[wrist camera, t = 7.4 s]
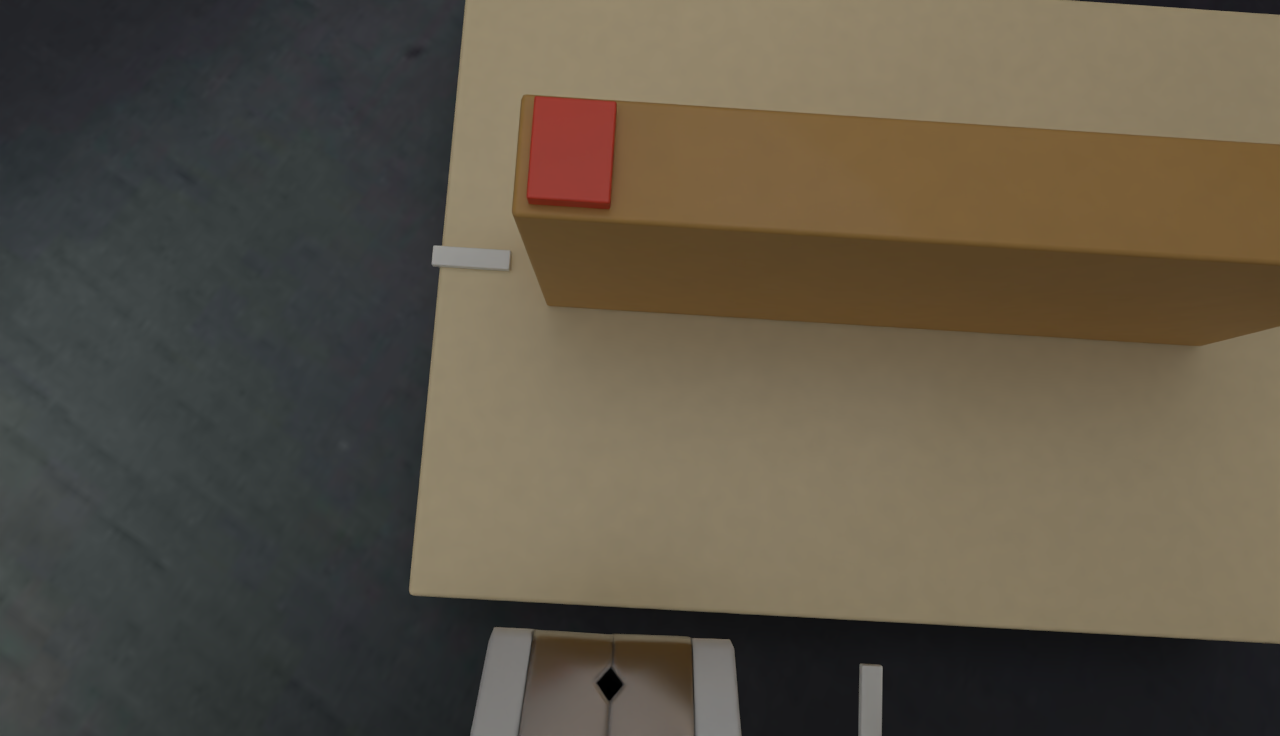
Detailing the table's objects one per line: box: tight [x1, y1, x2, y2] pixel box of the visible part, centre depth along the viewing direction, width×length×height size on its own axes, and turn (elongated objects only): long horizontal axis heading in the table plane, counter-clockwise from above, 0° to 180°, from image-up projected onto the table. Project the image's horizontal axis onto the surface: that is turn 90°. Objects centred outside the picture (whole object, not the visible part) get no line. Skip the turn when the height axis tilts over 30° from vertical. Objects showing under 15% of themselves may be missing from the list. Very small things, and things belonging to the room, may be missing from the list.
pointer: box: [512, 94, 1280, 346], centre depth 13 cm, size 12×2×5 cm, turn 87°
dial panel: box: [409, 0, 1280, 736], centre depth 17 cm, size 16×16×3 cm
